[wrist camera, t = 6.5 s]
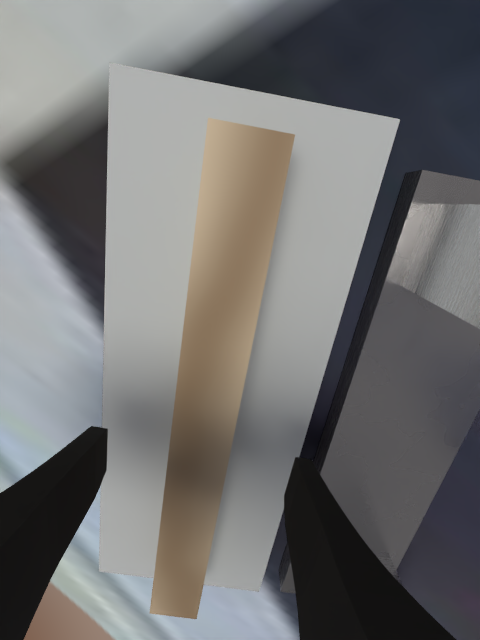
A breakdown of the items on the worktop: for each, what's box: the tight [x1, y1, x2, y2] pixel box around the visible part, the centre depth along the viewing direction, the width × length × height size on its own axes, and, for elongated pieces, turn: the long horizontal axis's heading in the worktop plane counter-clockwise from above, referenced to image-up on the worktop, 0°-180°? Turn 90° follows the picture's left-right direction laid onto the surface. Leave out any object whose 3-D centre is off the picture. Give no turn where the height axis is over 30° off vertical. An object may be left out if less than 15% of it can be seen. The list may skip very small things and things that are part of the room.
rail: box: [150, 118, 295, 619], centre depth 14 cm, size 2×23×2 cm, turn 170°
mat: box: [99, 63, 400, 592], centre depth 16 cm, size 10×26×1 cm, turn 170°
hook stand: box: [279, 170, 480, 593], centre depth 13 cm, size 6×23×7 cm, turn 170°
